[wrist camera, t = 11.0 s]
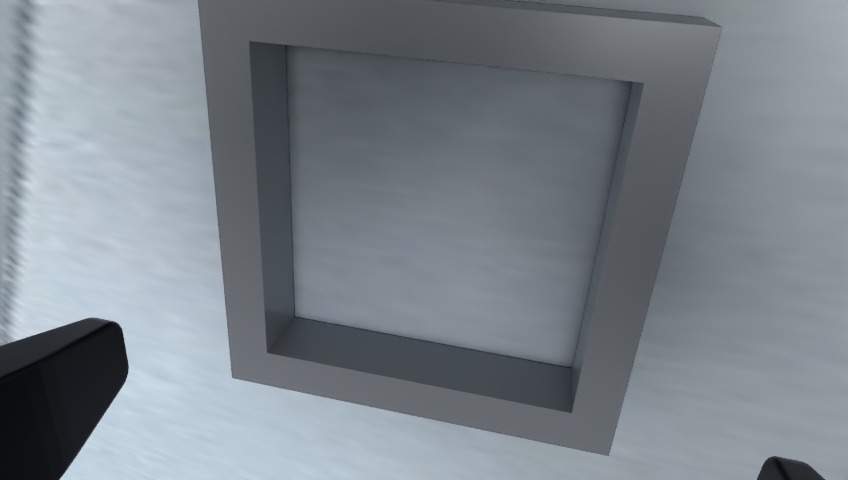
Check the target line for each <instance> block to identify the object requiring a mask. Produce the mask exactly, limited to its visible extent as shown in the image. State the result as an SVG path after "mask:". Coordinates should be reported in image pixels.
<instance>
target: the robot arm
mask: <svg viewBox="0 0 848 480" xmlns="http://www.w3.org/2000/svg"><path fill="white" fill-rule="evenodd" d="M128 369H129V367H128V360H127V354H126V348H125V343H124V337H123V331H122V328H121V327H120V325H119V324H118V323H116V322H114V321H109V320H104V319H99V318H87V319H84V320H81V321H77V322H74V323H71V324H68V325H65V326H62V327H59V328H55V329H52V330H49V331H46V332H43V333H40V334H37V335H33V336H30V337H27V338H24V339H21V340H18V341H15V342H11V343H8V344H5V345H2V346H0V480H60V478H61V477H62V476H63V474H64V473H65V472H66V470H67V469H68V467H69V466H70V465H71V463H72V462H73V460H74V459H75V457H76V456H77V455H78V453H79V451H80V450H81V448H82V447H83V445H84V444H85V442H86V441H87V439H88V438H89V436H90V435H91V433H92V432H93V430H94V429H95V427H96V426H97V424H98V423H99V421H100V420H101V418H102V417H103V415H104V414H105V412H106V411H107V409H108V408H109V406H110V404H111V403H112V401H113V400H114V398H115V397H116V395H117V394H118V392H119V391H120V389H121V388H122V386H123V385H124V383H125V381H126V378H127V375H128ZM757 480H825V479H824V478H823V477H822V476H821V475H819V474H818V473H817V472H816V471H815V470H814V469H813V468H812V467H811V466H809V465H808V464H806V463H804V462H801V461H797V460H792V459H787V458H782V457H777V456H773V457H770V458H768V459H767V460H766V461H765V463H764V464H763V466H762V469H761V471H760V474H759V476H758V478H757Z"/></svg>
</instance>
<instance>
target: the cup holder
mask: <svg viewBox="0 0 848 480" xmlns="http://www.w3.org/2000/svg"><path fill="white" fill-rule="evenodd" d="M198 5H199V16H200V27H201V38H202V49H203V61H204V72H205V83H206V94H207V105H208V116H209V127H210V138H211V149H212V160H213V171H214V182H215V193H216V204H217V216H218V227H219V238H220V249H221V260H222V271H223V282H224V293H225V304H226V315H227V326H228V337H229V348H230V359H231V371H232V378H235V379H240V380H245V381H249V382H254V383H259V384H264V385H269V386H274V387H278V388H283V389H288V390H293V391H298V392H303V393H307V394H312V395H317V396H322V397H327V398H331V399H336V400H341V401H346V402H351V403H356V404H360V405H365V406H370V407H375V408H380V409H385V410H389V411H394V412H399V413H404V414H409V415H414V416H418V417H423V418H428V419H433V420H438V421H443V422H447V423H452V424H457V425H462V426H467V427H471V428H476V429H481V430H486V431H491V432H496V433H500V434H505V435H510V436H515V437H520V438H525V439H529V440H534V441H539V442H544V443H549V444H554V445H558V446H563V447H568V448H573V449H578V450H582V451H587V452H592V453H597V454H602V455H607V456H609V453H610V449H611V446H612V442H613V438H614V434H615V430H616V427H617V423H618V419H619V415H620V412H621V408H622V404H623V400H624V396H625V393H626V389H627V385H628V381H629V378H630V374H631V370H632V366H633V362H634V359H635V355H636V351H637V347H638V344H639V340H640V336H641V332H642V328H643V325H644V321H645V317H646V313H647V310H648V306H649V302H650V298H651V294H652V291H653V287H654V283H655V279H656V276H657V272H658V268H659V264H660V260H661V257H662V253H663V249H664V245H665V242H666V238H667V234H668V230H669V226H670V223H671V219H672V215H673V211H674V208H675V204H676V200H677V196H678V192H679V189H680V185H681V181H682V177H683V174H684V170H685V166H686V162H687V158H688V155H689V151H690V147H691V143H692V140H693V136H694V132H695V128H696V124H697V121H698V117H699V113H700V109H701V106H702V102H703V98H704V94H705V90H706V87H707V83H708V79H709V75H710V72H711V68H712V64H713V60H714V56H715V53H716V49H717V45H718V41H719V38H720V34H721V30H722V27H721V26H719V25H717V24H715V23H713V22H711V21H709V20H707V19H705V18H704V17H693V16H682V15H670V14H659V13H647V12H636V11H624V10H613V9H601V8H590V7H578V6H567V5H556V4H544V3H533V2H521V1H510V0H198ZM286 45H292V46H301V47H311V48H320V49H330V50H339V51H349V52H358V53H367V54H377V55H386V56H396V57H405V58H415V59H424V60H433V61H443V62H452V63H462V64H471V65H481V66H490V67H499V68H509V69H518V70H528V71H537V72H547V73H556V74H565V75H575V76H584V77H594V78H603V79H613V80H622V81H632V82H633V84H632V88H631V93H630V98H629V103H628V107H627V112H626V117H625V122H624V126H623V131H622V136H621V140H620V145H619V150H618V155H617V159H616V164H615V169H614V173H613V178H612V183H611V188H610V192H609V197H608V202H607V207H606V211H605V216H604V221H603V225H602V230H601V235H600V240H599V244H598V249H597V254H596V258H595V263H594V268H593V273H592V277H591V282H590V287H589V292H588V296H587V301H586V306H585V310H584V315H583V320H582V325H581V329H580V334H579V339H578V343H577V348H576V353H575V358H574V362H573V367H572V368H566V367H561V366H556V365H550V364H545V363H539V362H534V361H529V360H523V359H518V358H512V357H507V356H502V355H496V354H491V353H485V352H480V351H475V350H469V349H464V348H459V347H453V346H448V345H442V344H437V343H432V342H426V341H421V340H415V339H410V338H405V337H399V336H394V335H388V334H383V333H378V332H372V331H367V330H362V329H356V328H351V327H345V326H340V325H335V324H329V323H324V322H318V321H313V320H308V319H302V318H297V317H295V315H294V284H293V254H292V223H291V193H290V162H289V132H288V101H287V71H286Z"/></svg>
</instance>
